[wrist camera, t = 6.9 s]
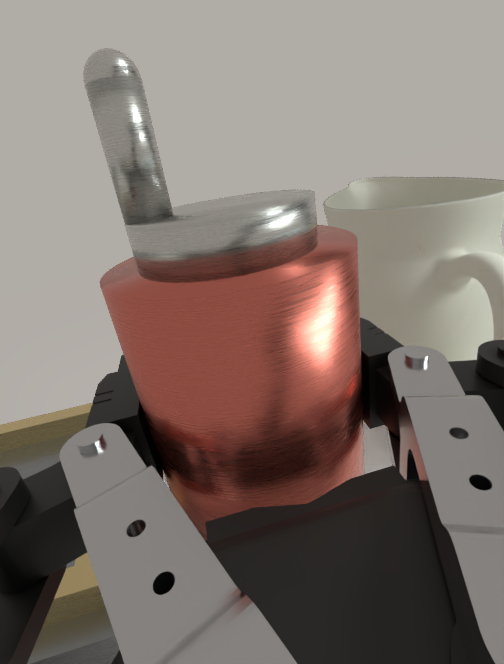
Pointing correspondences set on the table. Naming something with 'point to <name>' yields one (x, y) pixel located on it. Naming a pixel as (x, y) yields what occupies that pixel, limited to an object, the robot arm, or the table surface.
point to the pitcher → (428, 258)
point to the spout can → (230, 325)
